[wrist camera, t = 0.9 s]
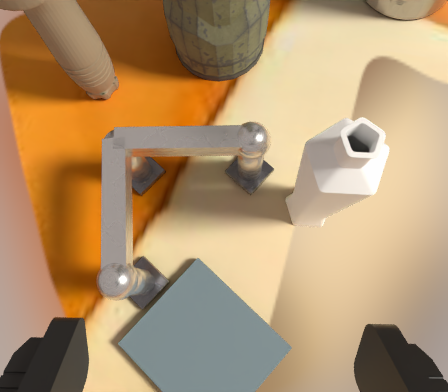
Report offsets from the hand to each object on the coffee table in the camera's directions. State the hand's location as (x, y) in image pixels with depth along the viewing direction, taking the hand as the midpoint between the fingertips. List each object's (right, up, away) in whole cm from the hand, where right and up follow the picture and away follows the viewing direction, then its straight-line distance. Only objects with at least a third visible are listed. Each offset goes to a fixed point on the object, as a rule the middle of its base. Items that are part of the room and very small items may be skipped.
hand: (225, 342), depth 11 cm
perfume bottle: (+7, +3, +22) cm, 23 cm away
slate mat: (-2, -8, +19) cm, 21 cm away
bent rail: (-5, +4, +22) cm, 23 cm away
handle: (-12, +15, +26) cm, 32 cm away
